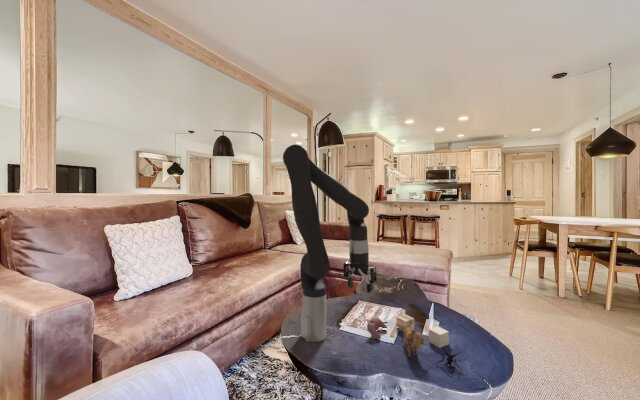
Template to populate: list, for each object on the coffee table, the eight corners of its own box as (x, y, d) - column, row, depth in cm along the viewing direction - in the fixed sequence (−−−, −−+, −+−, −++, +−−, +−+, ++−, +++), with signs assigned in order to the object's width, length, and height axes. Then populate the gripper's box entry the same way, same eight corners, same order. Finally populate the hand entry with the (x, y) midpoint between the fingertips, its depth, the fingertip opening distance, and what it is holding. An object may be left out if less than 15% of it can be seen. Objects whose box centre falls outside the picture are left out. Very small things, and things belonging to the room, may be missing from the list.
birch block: (405, 333, 117) (405, 321, 117) (396, 328, 122) (396, 316, 121) (414, 330, 120) (414, 318, 119) (405, 325, 124) (405, 314, 124)
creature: (461, 381, 89) (463, 363, 96) (461, 367, 88) (463, 349, 95) (434, 373, 93) (438, 356, 100) (434, 359, 92) (438, 342, 99)
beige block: (439, 348, 106) (439, 334, 106) (428, 341, 111) (428, 329, 111) (448, 344, 109) (448, 331, 109) (437, 338, 113) (437, 326, 113)
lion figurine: (427, 361, 98) (427, 335, 98) (412, 362, 97) (412, 336, 97) (408, 339, 113) (408, 316, 112) (395, 340, 112) (395, 317, 112)
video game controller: (379, 331, 121) (372, 315, 123) (388, 329, 119) (381, 312, 121) (370, 342, 113) (363, 324, 114) (380, 340, 111) (373, 322, 112)
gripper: (338, 250, 117) (340, 289, 118) (369, 255, 107) (370, 297, 108) (349, 246, 122) (350, 283, 123) (379, 250, 113) (380, 291, 114)
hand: (360, 290), depth 116 cm, fingers open, 8 cm apart
